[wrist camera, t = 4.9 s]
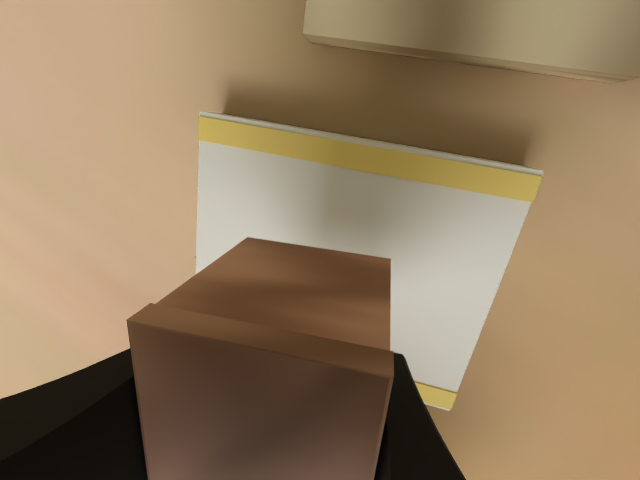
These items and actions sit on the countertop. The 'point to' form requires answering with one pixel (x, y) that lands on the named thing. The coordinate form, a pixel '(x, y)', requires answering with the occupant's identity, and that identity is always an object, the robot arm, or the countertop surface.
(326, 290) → the brown cube
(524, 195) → the dock
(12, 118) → the countertop surface
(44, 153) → the countertop surface
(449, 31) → the beige rectangular slab
